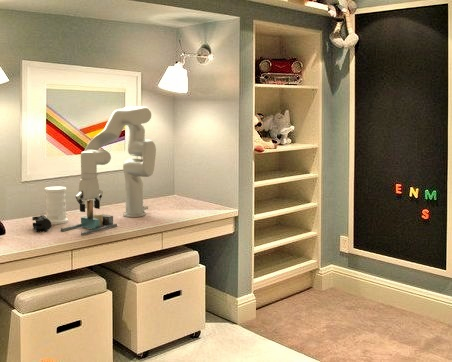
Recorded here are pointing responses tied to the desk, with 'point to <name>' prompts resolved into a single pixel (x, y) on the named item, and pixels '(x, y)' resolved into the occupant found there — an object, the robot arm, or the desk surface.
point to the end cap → (41, 223)
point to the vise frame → (106, 223)
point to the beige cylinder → (99, 216)
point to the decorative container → (56, 204)
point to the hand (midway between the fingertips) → (89, 210)
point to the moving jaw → (90, 218)
